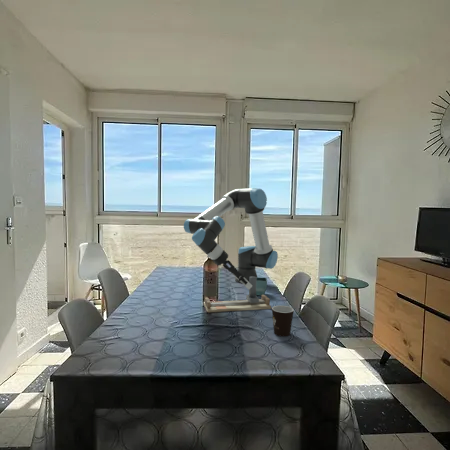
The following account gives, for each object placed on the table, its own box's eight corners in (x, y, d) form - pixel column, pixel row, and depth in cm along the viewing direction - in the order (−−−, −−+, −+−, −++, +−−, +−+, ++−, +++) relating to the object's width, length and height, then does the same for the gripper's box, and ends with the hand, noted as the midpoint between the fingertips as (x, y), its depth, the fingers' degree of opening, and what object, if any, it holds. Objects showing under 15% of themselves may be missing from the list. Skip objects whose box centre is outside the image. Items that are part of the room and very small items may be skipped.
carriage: (246, 298, 167) (246, 275, 166) (254, 298, 168) (254, 275, 167) (250, 302, 160) (250, 279, 159) (258, 302, 161) (259, 278, 160)
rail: (203, 304, 165) (203, 296, 164) (263, 301, 172) (263, 293, 171) (207, 312, 153) (207, 303, 153) (271, 308, 160) (271, 300, 160)
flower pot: (266, 292, 189) (266, 277, 188) (266, 296, 180) (267, 281, 179) (251, 291, 190) (251, 276, 189) (251, 296, 181) (251, 280, 180)
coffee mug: (293, 338, 125) (293, 313, 124) (270, 336, 127) (271, 311, 126) (292, 327, 136) (293, 304, 135) (272, 325, 138) (272, 302, 137)
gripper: (208, 256, 169) (235, 283, 174) (217, 265, 145) (248, 296, 149) (218, 246, 170) (245, 273, 174) (229, 253, 146) (259, 285, 150)
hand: (246, 284), depth 162 cm, fingers open, 13 cm apart
